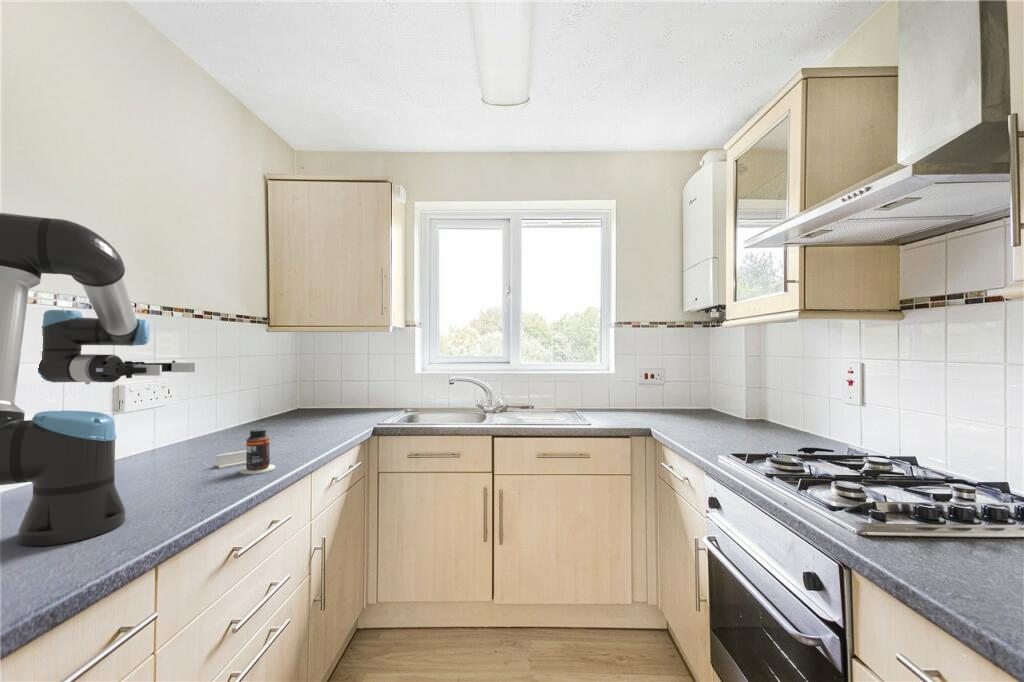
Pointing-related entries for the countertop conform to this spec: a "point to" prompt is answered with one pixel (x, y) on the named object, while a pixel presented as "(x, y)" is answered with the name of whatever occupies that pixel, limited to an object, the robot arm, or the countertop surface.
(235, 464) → the low wall
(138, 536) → the countertop surface
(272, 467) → the sage mat
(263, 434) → the supplement bottle
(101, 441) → the robot arm
